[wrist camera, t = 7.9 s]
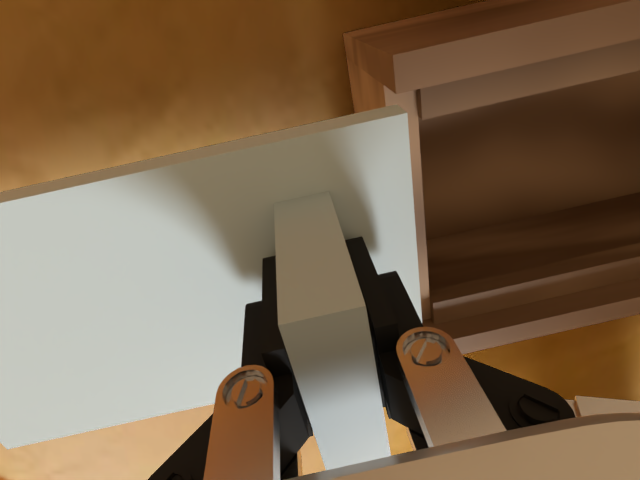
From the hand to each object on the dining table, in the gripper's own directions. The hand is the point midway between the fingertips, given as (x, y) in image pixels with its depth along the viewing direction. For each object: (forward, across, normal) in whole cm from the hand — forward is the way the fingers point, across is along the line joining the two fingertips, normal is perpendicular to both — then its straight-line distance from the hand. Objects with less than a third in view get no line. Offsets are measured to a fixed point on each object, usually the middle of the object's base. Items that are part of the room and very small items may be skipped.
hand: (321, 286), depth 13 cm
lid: (+1, +5, 0) cm, 5 cm away
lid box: (+9, -12, 0) cm, 15 cm away
